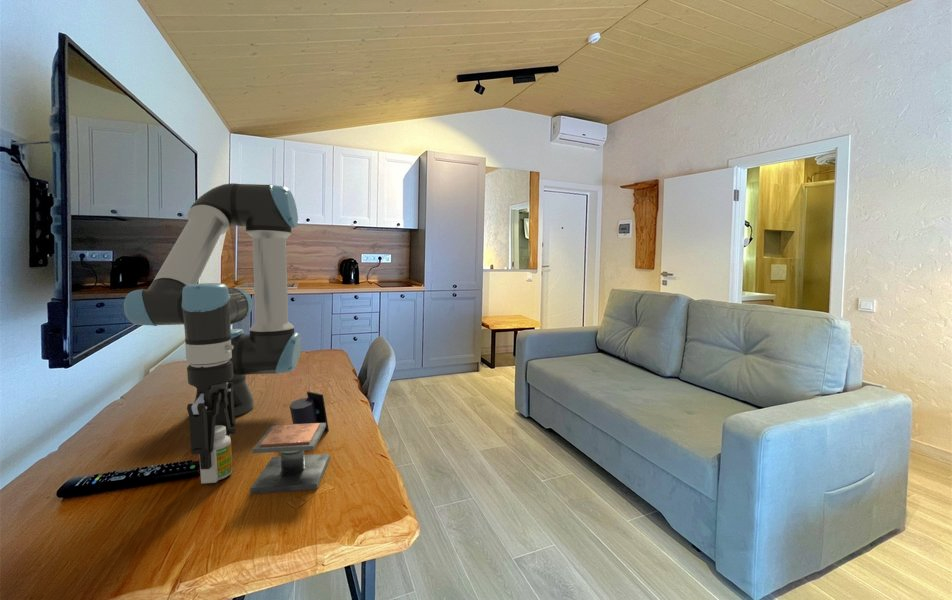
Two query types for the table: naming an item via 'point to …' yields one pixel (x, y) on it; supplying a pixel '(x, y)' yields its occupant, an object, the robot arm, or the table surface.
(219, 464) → the supplement bottle
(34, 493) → the table surface
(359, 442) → the table surface
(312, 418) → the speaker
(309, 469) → the stand
